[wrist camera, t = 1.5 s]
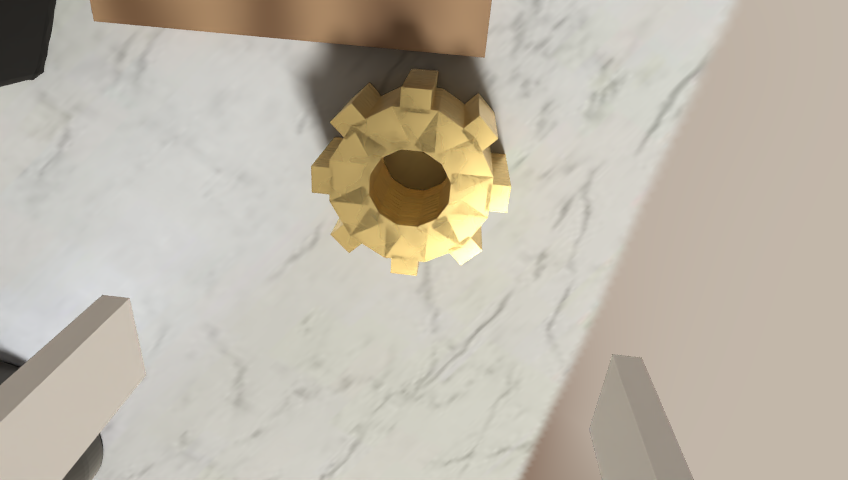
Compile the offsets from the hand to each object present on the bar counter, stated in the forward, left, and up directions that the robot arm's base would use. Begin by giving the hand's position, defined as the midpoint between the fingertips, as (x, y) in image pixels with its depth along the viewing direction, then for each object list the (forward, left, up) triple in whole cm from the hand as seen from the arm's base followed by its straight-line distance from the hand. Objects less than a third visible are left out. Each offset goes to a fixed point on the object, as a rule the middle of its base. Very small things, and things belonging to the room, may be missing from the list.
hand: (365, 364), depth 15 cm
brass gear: (0, 0, -18) cm, 18 cm away
